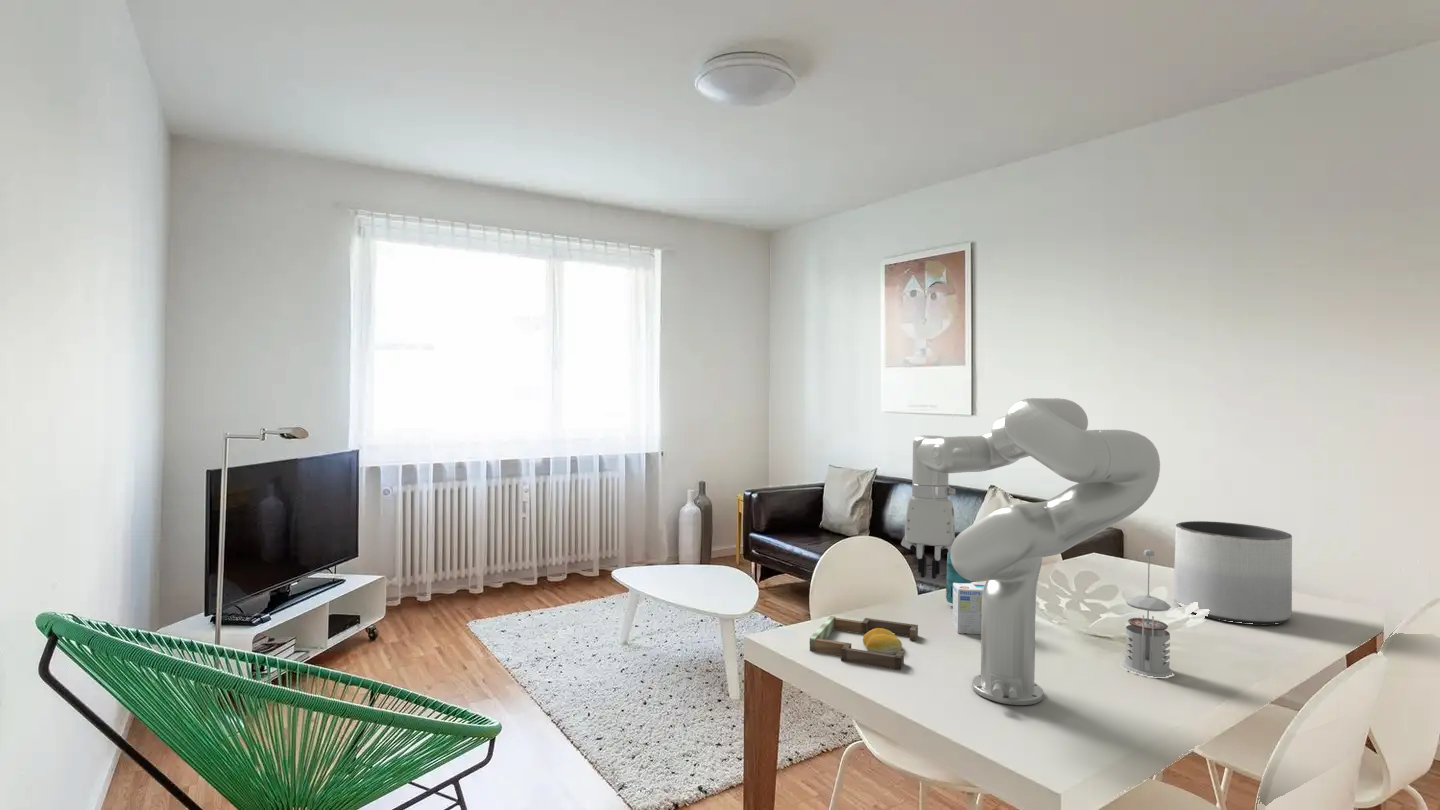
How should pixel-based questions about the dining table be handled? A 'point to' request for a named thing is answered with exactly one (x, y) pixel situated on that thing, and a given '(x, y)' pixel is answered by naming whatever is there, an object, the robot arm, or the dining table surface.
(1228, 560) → the planter
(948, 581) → the beverage bottle
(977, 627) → the light bulb box
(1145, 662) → the french press
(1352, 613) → the dining table surface
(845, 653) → the frame
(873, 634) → the bread roll
